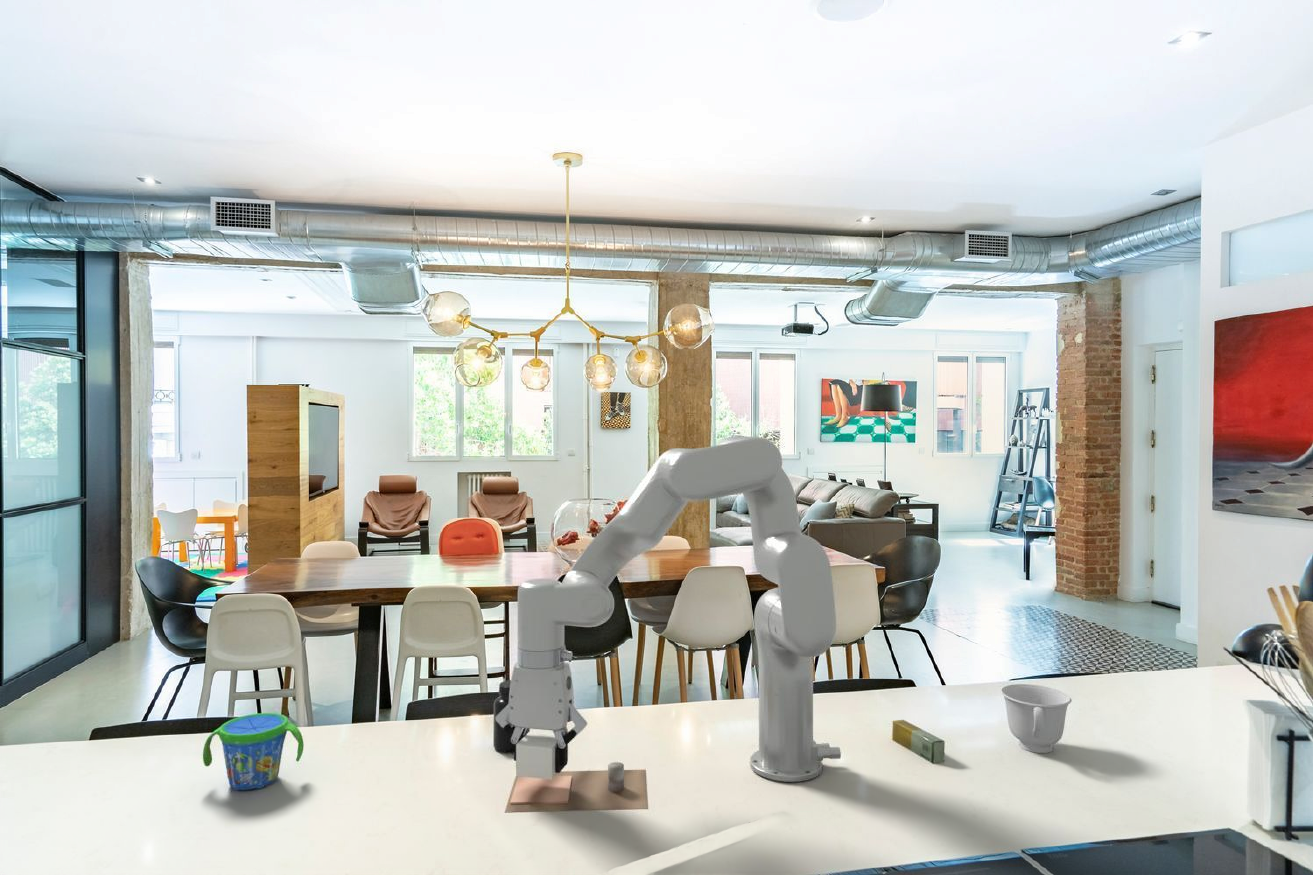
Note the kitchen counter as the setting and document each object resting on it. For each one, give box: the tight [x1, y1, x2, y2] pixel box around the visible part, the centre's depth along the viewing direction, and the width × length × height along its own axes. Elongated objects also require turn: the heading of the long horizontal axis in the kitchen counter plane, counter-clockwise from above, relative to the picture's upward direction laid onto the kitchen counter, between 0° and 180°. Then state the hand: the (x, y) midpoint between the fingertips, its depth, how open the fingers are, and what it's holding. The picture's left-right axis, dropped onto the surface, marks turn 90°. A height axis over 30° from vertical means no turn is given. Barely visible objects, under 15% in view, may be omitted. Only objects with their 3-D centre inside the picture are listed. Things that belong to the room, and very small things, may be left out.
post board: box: [504, 761, 649, 813], centre depth 128 cm, size 22×14×5 cm, turn 92°
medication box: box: [891, 719, 946, 765], centre depth 146 cm, size 12×3×4 cm, turn 21°
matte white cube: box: [515, 730, 557, 780], centre depth 127 cm, size 6×6×5 cm
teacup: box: [1000, 683, 1073, 754], centre depth 146 cm, size 12×15×10 cm
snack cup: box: [202, 712, 305, 791], centre depth 134 cm, size 16×10×10 cm
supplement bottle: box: [492, 679, 531, 754], centre depth 149 cm, size 7×7×12 cm
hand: (540, 766), depth 127 cm, fingers closed on matte white cube, 6 cm apart
